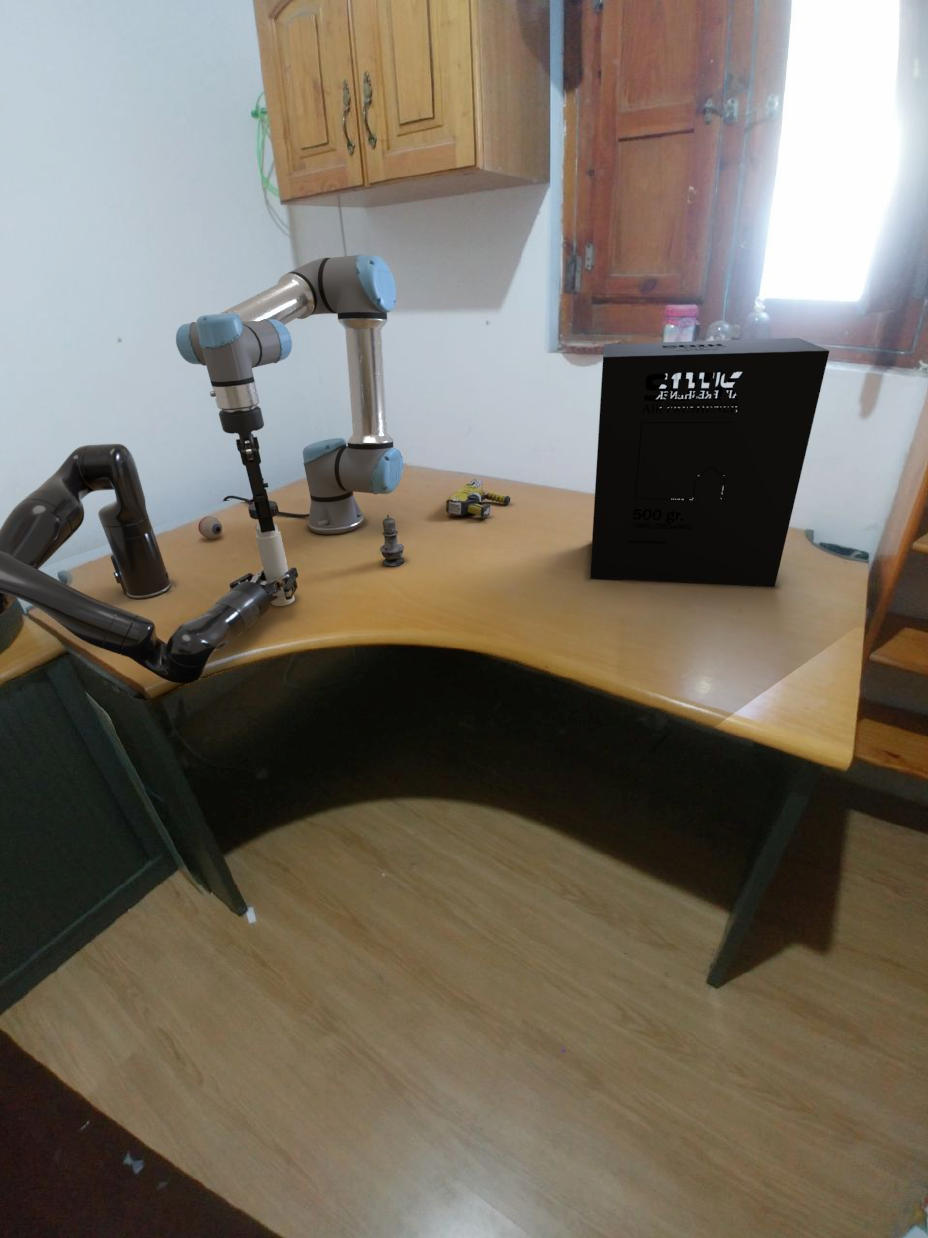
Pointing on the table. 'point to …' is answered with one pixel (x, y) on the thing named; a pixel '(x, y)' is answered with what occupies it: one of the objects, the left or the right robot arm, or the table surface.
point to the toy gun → (473, 500)
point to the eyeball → (210, 527)
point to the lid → (272, 507)
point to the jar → (273, 558)
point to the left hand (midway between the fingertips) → (283, 570)
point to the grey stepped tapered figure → (391, 544)
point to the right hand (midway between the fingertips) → (267, 525)
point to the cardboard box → (701, 458)
